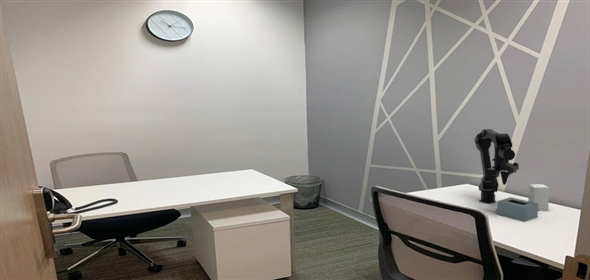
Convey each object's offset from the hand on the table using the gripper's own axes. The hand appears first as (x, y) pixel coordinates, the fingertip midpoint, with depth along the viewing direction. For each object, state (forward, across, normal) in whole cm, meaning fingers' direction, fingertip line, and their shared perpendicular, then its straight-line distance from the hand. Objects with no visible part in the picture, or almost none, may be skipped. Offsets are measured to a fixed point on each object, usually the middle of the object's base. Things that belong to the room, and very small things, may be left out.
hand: (499, 185), depth 203 cm
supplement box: (+13, +18, -11) cm, 25 cm away
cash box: (+13, -2, -11) cm, 17 cm away
